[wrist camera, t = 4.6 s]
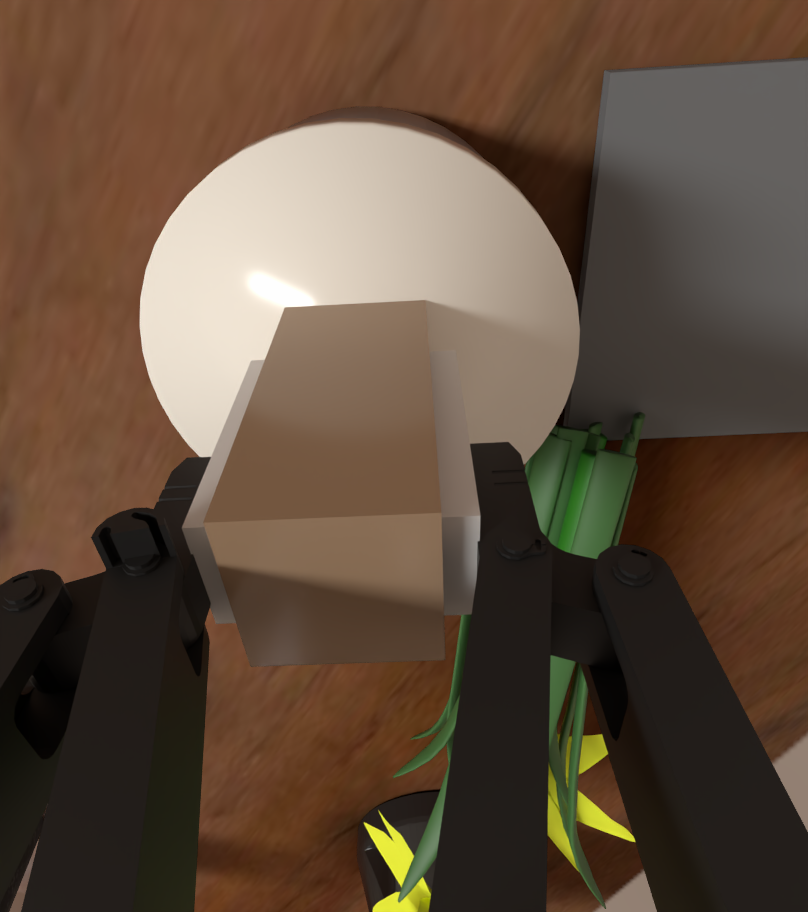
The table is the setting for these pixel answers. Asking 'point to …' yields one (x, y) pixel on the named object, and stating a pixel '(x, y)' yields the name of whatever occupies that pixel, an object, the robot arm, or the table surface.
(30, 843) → the travel mug
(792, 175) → the mat
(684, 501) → the table surface
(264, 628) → the lid
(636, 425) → the daffodil flowers
